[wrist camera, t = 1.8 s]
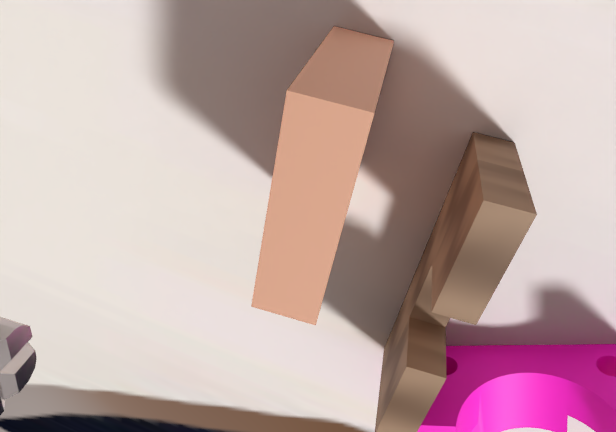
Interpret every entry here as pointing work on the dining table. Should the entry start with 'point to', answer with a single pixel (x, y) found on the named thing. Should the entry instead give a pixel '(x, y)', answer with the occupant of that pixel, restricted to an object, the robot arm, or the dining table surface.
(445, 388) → the toy block
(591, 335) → the dining table surface
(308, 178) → the tan notched block
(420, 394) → the walnut rail
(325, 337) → the dining table surface
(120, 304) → the dining table surface
